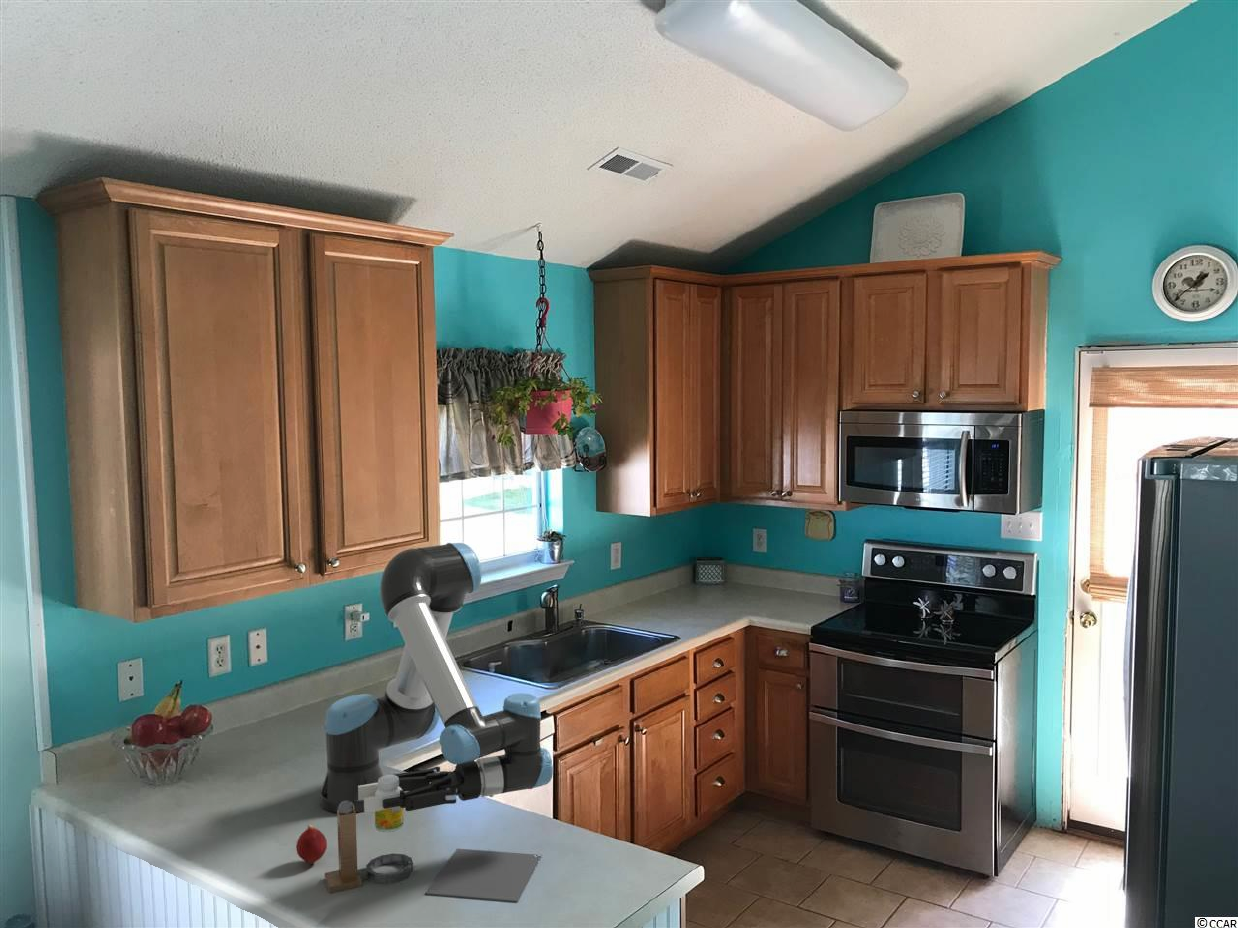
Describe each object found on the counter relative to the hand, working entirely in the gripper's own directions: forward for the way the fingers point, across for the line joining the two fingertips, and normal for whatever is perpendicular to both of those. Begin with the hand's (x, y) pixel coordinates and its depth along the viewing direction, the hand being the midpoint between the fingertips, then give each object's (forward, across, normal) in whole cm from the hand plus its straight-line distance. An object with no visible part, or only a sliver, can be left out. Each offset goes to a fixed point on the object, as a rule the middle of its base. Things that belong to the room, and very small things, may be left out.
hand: (361, 799), depth 188 cm
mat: (-22, -9, -16) cm, 28 cm away
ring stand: (-1, 0, -16) cm, 16 cm away
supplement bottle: (-5, 0, -7) cm, 9 cm away
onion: (+8, +11, -16) cm, 21 cm away
